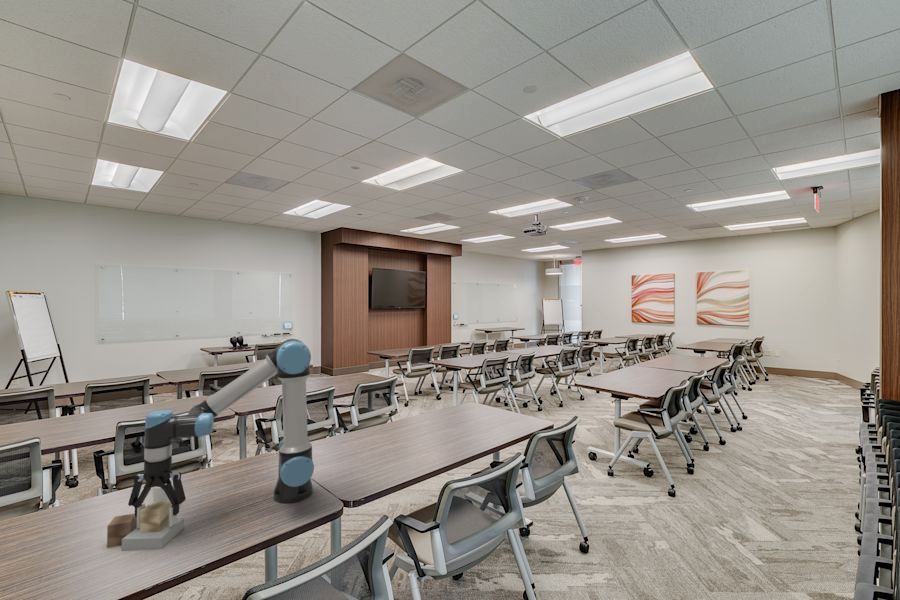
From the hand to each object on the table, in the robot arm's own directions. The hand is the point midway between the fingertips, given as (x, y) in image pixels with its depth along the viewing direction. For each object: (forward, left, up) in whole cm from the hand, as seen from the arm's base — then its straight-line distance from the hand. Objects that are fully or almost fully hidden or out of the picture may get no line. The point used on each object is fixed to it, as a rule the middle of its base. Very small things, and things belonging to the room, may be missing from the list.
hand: (156, 524), depth 131 cm
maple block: (0, 0, -1) cm, 1 cm away
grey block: (0, +1, -5) cm, 5 cm away
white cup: (+9, -19, -4) cm, 21 cm away
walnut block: (+10, +1, -4) cm, 11 cm away
